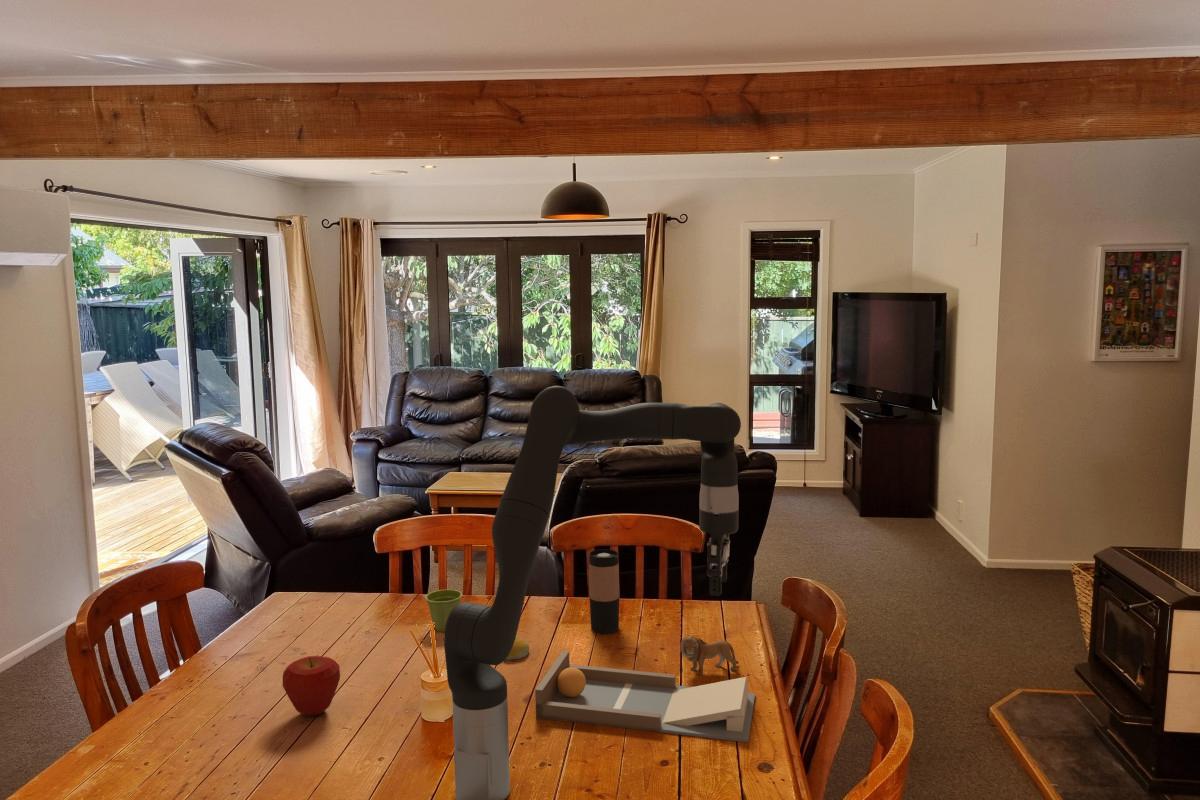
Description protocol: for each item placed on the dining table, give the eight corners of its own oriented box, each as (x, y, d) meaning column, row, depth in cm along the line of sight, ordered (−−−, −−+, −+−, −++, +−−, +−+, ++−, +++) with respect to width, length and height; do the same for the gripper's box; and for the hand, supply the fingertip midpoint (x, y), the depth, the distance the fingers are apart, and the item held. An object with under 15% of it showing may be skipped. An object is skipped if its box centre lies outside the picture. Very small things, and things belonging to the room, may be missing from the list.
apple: (282, 730, 163) (278, 672, 162) (287, 705, 174) (284, 650, 172) (340, 722, 166) (337, 665, 165) (342, 697, 177) (339, 643, 175)
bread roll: (508, 664, 192) (508, 648, 192) (487, 652, 199) (487, 637, 198) (537, 654, 198) (536, 638, 197) (515, 643, 204) (514, 627, 204)
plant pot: (419, 632, 211) (418, 600, 210) (437, 619, 220) (436, 587, 219) (452, 636, 209) (451, 603, 208) (469, 622, 218) (468, 590, 217)
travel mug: (585, 626, 214) (584, 551, 211) (611, 621, 217) (610, 547, 215) (597, 636, 207) (596, 559, 205) (624, 631, 210) (623, 555, 208)
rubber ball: (549, 678, 172) (575, 671, 171) (558, 666, 178) (583, 659, 176) (559, 705, 172) (585, 698, 171) (567, 692, 178) (592, 685, 177)
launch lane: (754, 699, 175) (755, 669, 174) (748, 746, 156) (748, 712, 156) (563, 679, 185) (562, 650, 184) (536, 721, 167) (535, 689, 166)
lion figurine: (686, 681, 182) (686, 642, 181) (675, 671, 187) (675, 633, 186) (744, 669, 187) (744, 631, 186) (732, 660, 192) (732, 623, 191)
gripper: (705, 498, 167) (704, 576, 169) (693, 513, 153) (693, 598, 155) (742, 500, 165) (741, 578, 167) (734, 516, 151) (733, 602, 153)
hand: (718, 588), depth 161 cm, fingers open, 8 cm apart
